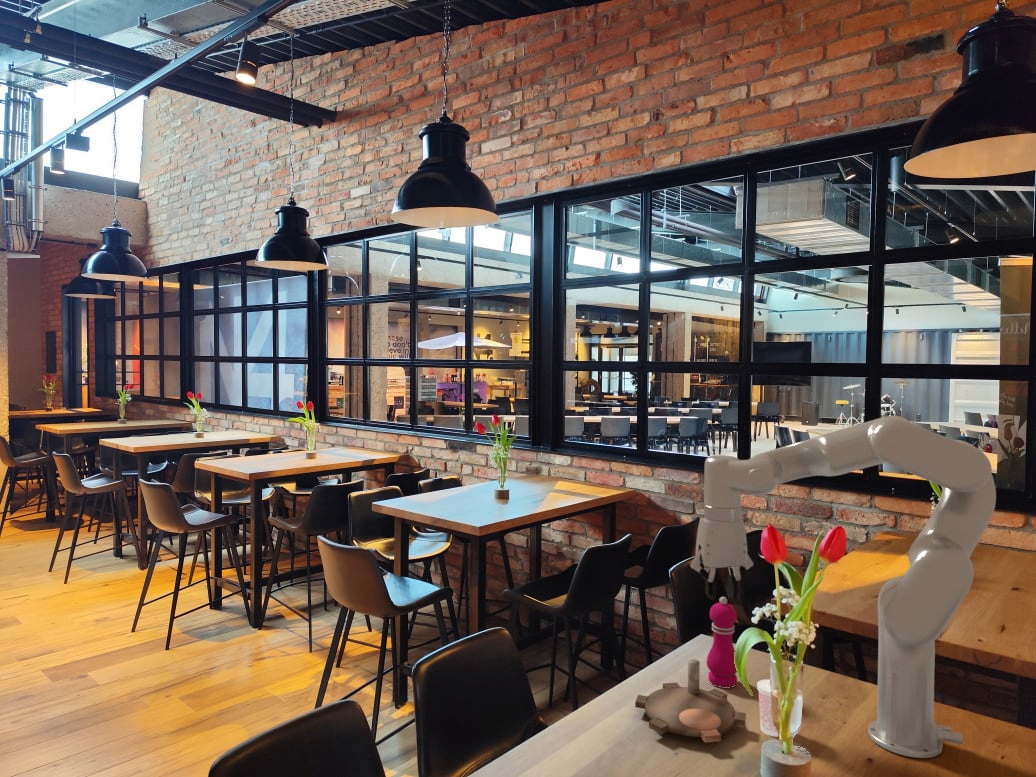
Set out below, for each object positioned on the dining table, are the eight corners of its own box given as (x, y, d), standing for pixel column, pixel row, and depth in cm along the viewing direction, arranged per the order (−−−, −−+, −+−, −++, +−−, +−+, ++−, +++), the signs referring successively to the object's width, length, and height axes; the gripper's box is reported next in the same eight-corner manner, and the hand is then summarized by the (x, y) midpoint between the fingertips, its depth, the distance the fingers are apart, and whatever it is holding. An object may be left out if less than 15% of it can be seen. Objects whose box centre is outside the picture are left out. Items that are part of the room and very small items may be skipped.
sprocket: (747, 699, 146) (747, 663, 145) (742, 749, 127) (743, 708, 126) (645, 682, 154) (645, 648, 153) (626, 727, 134) (626, 688, 134)
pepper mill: (732, 692, 152) (733, 604, 152) (701, 683, 157) (702, 597, 156) (743, 681, 158) (744, 595, 158) (713, 672, 163) (713, 589, 162)
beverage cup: (767, 740, 133) (767, 669, 133) (750, 724, 139) (751, 656, 139) (795, 736, 134) (796, 666, 134) (777, 721, 140) (778, 653, 140)
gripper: (750, 508, 151) (749, 590, 152) (678, 511, 149) (677, 594, 149) (767, 516, 144) (766, 601, 144) (692, 518, 141) (691, 606, 142)
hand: (721, 597), depth 147 cm, fingers open, 4 cm apart
